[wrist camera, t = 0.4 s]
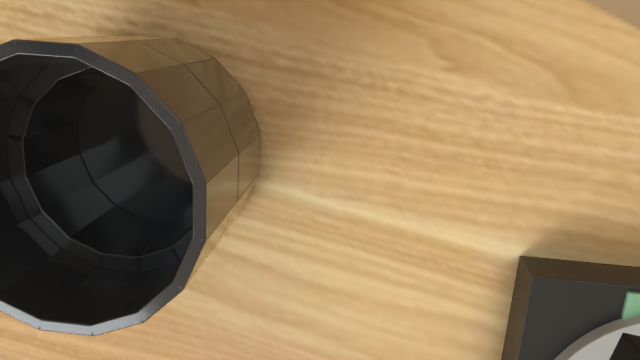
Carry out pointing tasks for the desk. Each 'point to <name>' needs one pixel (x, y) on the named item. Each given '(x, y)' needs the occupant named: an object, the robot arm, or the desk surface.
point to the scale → (571, 310)
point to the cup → (114, 175)
